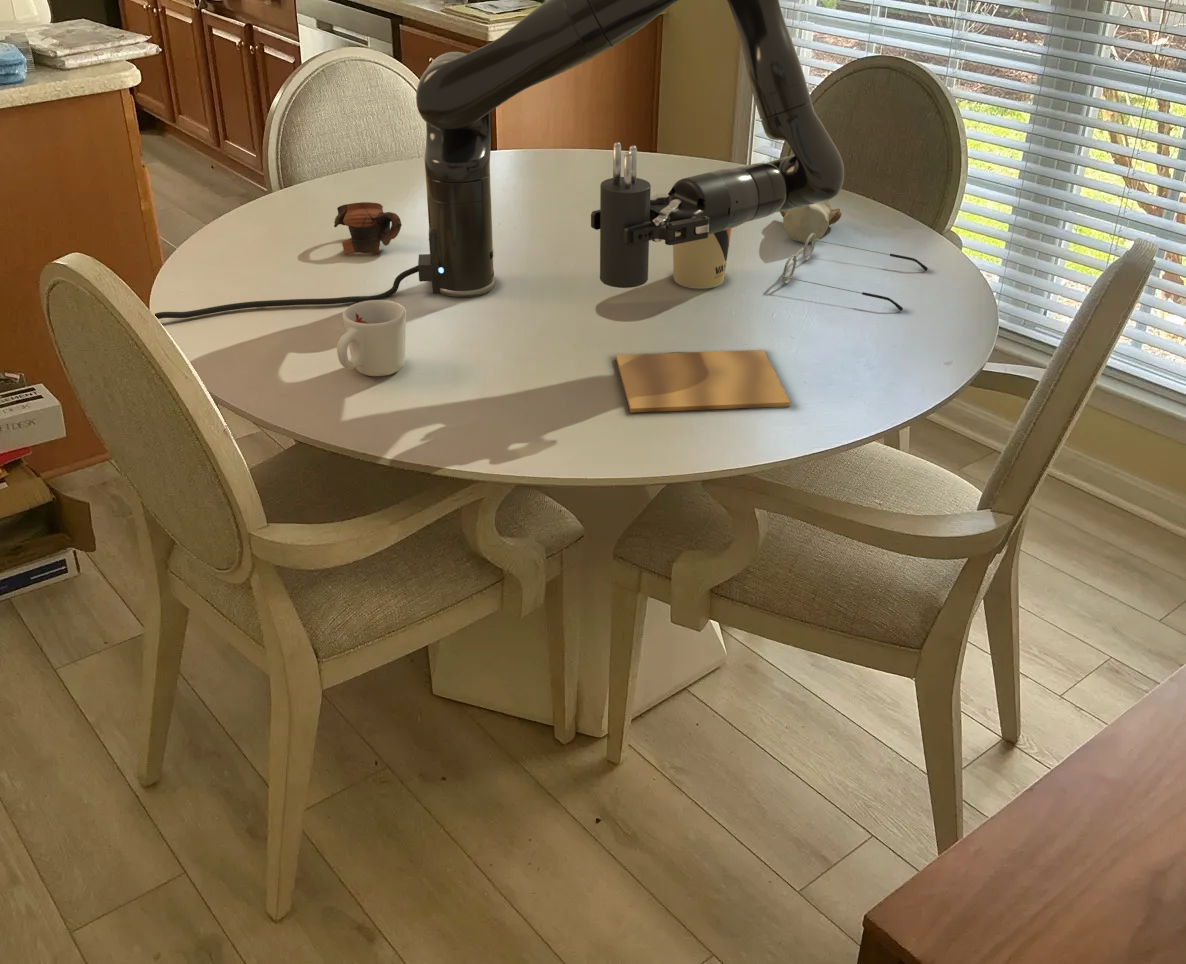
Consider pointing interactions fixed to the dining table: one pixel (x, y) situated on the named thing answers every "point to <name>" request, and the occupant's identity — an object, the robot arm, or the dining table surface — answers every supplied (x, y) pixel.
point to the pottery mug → (367, 226)
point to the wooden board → (700, 381)
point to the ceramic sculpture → (809, 220)
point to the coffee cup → (701, 261)
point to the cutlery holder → (623, 223)
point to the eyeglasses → (835, 287)
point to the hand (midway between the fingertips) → (609, 228)
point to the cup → (373, 337)
